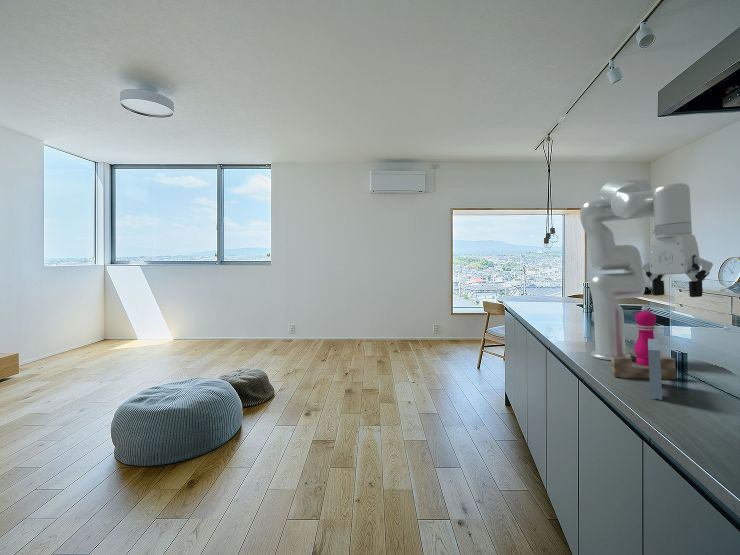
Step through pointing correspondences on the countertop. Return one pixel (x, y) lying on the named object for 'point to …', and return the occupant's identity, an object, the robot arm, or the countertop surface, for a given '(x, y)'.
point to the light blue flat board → (654, 369)
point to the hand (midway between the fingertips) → (676, 295)
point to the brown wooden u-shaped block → (641, 368)
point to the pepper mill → (644, 335)
